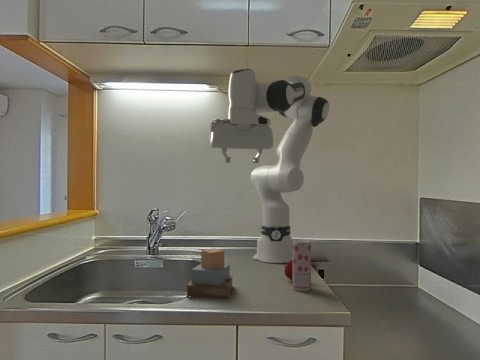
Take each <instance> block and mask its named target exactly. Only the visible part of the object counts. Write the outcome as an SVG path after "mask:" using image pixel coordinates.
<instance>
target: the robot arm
mask: <svg viewBox="0 0 480 360" xmlns="http://www.w3.org/2000/svg"><path fill="white" fill-rule="evenodd" d="M311 92H312V84H311V82H310V81H309V80H308V79H307V78H305V77H303V76H297V75H295V76H294V75H291V76H286V77H283V78H281V79H280V80H275V81H271V82H263V83H260V82H258V81H257V80H256V73H255V70H254V69H251V68H244V69H238V70H234V71H232V72H231V73H230V77H229V84H228V99H229V100H228V101H229V107H228V118H215V119H213V120H212V121H211V122H210V125H209V127H210V129H209V130H210V132H211V134H210V135H211V136H210V146H211V148H213V149H221V154H222V156H223V157H224V163H225V164H228V163H231V157H230V156H228V154H227V152H228V149H233V150H234V149H235V150H236V149H237V150H238V149H239V150H241V149H242V150H243V149H244V150H245V149H246V150H249V149H250V150H256V151H255V152H256V153H257V154H256V156H255V157H252V164H259V162H260V157H261V155H262V154H263V150H271V149H272V148H273V146H274V135H273V130H272V128H271V127H270V125H271V119H270V118H268V117H266V116H263V115H260V114H262V113H264V114H265V113H273V112H274V113H275V112H277V113H278V114H279V115H281V116H282V117H284V118H289V119H291V120H292V119H293V122H292V123H291V124H290V126H289V127H288V129H287V130H286V131H285V133H284V135H283V136H282V139H281V141H280V142H279V144H278V146H277V148H276V155H277V158H278V159H279V160H278V162H277V164H274V165H273V164H271V165H270V164H269V165H261V166H258V167H256V168H254V169H253V170H252V171H251V173H250V183H251V185H252V186H253V188H254V189H255V190H256V192H257V194H258V197H259V200H260V203H261V209H262V211H261V214H262V217H261V219H262V221H261V222H262V224H261V228H260V230H261V231H260V233H261V235H260V236H259V238H258V239H257V241H256V251H257V252H256V253H255V254H254V255H253V256H252V260H256V261H259V262H263V263H269V264H271V263H272V264H284V263H285V264H287V263H288V262H289V261H290V260H292V258H293V241H294V240H295V239H293V238H292V237H291V231H292V230H291V226H290V206H289V205H288V203H287V202H285V200H284V198H283V197H282V193H286V194H287V193H293V192H296V191H299V190H300V189H301V188H302V187H303V185H304V182H305V181H304V180H305V176H304V173H303V171H302V169H301V167H300V166H301V165H300V164H301V161H302V159H303V156H304V155H305V152H306V151H307V149H308V148H307V147H308V146H309V143H310V141H311V137H312V136H313V135H312V134H313V131H314V128H316V127H318V126H319V125H320V124H322V123H323V122H324V121H325V120H326V119H327V117H328V115H329V112H330V110H329V109H330V103H329V101H328V100H327V99H326V98H324V97H321V96H316V95H313V94H311Z"/></svg>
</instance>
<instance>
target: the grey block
mask: <svg viewBox="0 0 480 360" xmlns="http://www.w3.org/2000/svg"><path fill="white" fill-rule="evenodd" d="M190 271H191V272H190V273H191V278H190V281H191V283H199V284H210V285H221V284H223V283H224V282H225V281H226V280H227V279H228V278H230V276H231V267H230V264H225V263H224V267H223V268H218V269H213V270H210V269H207V268H204V267H201V263H199V264H198V265H196V266H194V267H193V268H192V269H191V270H190Z"/></svg>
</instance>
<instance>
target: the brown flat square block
mask: <svg viewBox="0 0 480 360" xmlns="http://www.w3.org/2000/svg"><path fill="white" fill-rule="evenodd" d="M232 287H233V275H230V278H228V279H227V280H226V281H225V282H224V283H223V284H221V285H210V284H199V283H191V280H189V282H188V284H187V285H186V292H187V293H186V298H189V297H188V296H191V297H190V298H196V297H199V298H201V299H202V298H203V299H206V298H207V299H229V298H230V294H231V291H232ZM199 298H198V299H199Z"/></svg>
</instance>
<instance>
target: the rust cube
mask: <svg viewBox="0 0 480 360" xmlns="http://www.w3.org/2000/svg"><path fill="white" fill-rule="evenodd" d="M200 253H201V254H200V258H201V259H200V260H201V261H200V264H201V267H204V268H207V269H210V270H213V269H218V268H223V267H224V264H225V250H223V249H219V248H215V247H214V248H213V247H212V248H207V249H201V250H200Z"/></svg>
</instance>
